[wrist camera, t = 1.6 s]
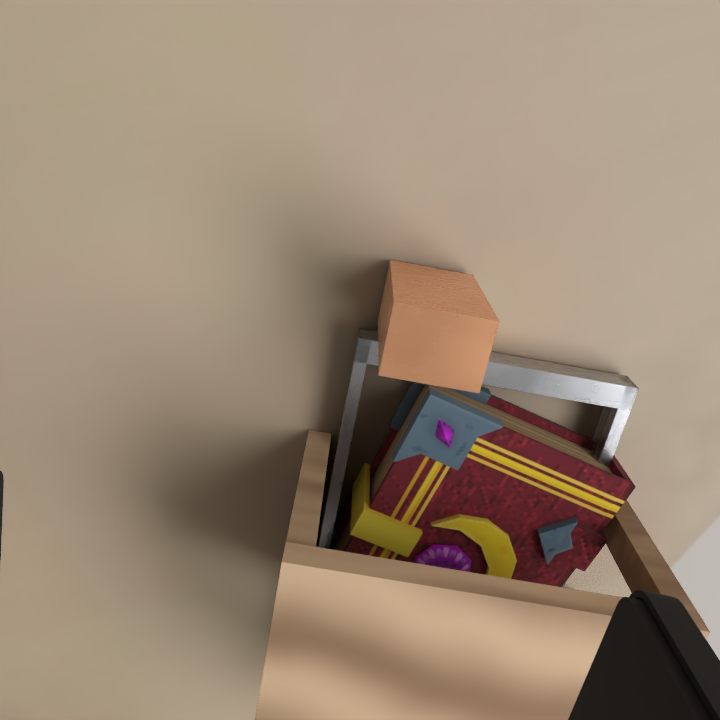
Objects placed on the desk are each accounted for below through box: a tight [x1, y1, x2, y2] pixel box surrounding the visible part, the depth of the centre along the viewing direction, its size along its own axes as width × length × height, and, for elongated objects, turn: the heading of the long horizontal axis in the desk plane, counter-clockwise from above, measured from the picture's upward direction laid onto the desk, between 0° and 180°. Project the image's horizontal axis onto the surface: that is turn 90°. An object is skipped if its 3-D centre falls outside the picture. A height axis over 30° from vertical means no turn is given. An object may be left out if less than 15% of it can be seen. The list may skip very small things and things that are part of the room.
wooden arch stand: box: [255, 430, 710, 720], centre depth 31 cm, size 9×17×11 cm, turn 80°
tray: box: [317, 260, 639, 588], centre depth 32 cm, size 24×14×7 cm, turn 170°
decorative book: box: [330, 382, 635, 587], centre depth 34 cm, size 11×16×5 cm
